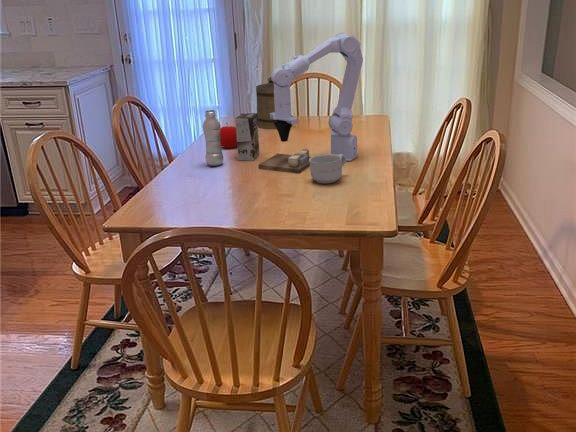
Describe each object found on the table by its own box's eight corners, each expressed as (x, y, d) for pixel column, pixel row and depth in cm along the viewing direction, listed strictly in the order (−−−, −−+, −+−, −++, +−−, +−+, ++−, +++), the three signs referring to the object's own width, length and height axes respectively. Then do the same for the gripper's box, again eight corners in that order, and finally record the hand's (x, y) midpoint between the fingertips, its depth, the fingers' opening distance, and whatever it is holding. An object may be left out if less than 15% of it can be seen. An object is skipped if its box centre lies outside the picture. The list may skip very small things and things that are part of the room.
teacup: (320, 188, 182) (319, 164, 179) (303, 179, 191) (303, 156, 188) (356, 180, 188) (356, 157, 185) (338, 171, 197) (338, 149, 194)
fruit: (242, 143, 235) (240, 120, 232) (238, 150, 227) (236, 125, 223) (220, 144, 236) (218, 120, 233) (216, 150, 228) (213, 125, 224)
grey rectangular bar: (302, 156, 209) (302, 148, 208) (310, 156, 208) (310, 149, 207) (288, 165, 199) (287, 158, 198) (296, 166, 198) (295, 158, 197)
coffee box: (254, 160, 212) (251, 118, 206) (237, 160, 214) (234, 118, 208) (260, 154, 221) (257, 112, 214) (244, 153, 222) (241, 112, 216)
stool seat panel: (316, 161, 209) (316, 151, 207) (299, 173, 197) (298, 162, 195) (277, 157, 216) (277, 147, 214) (258, 168, 203) (258, 158, 202)
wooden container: (286, 129, 256) (284, 79, 247) (254, 129, 258) (251, 80, 250) (292, 121, 269) (290, 74, 261) (261, 121, 272) (258, 74, 263)
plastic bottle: (227, 163, 211) (223, 109, 203) (217, 168, 205) (212, 113, 198) (212, 161, 214) (207, 108, 206) (202, 166, 208) (197, 112, 200)
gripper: (261, 102, 203) (264, 139, 208) (284, 108, 192) (286, 147, 197) (278, 99, 206) (280, 135, 212) (301, 105, 195) (303, 143, 200)
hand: (284, 141), depth 204 cm, fingers closed
